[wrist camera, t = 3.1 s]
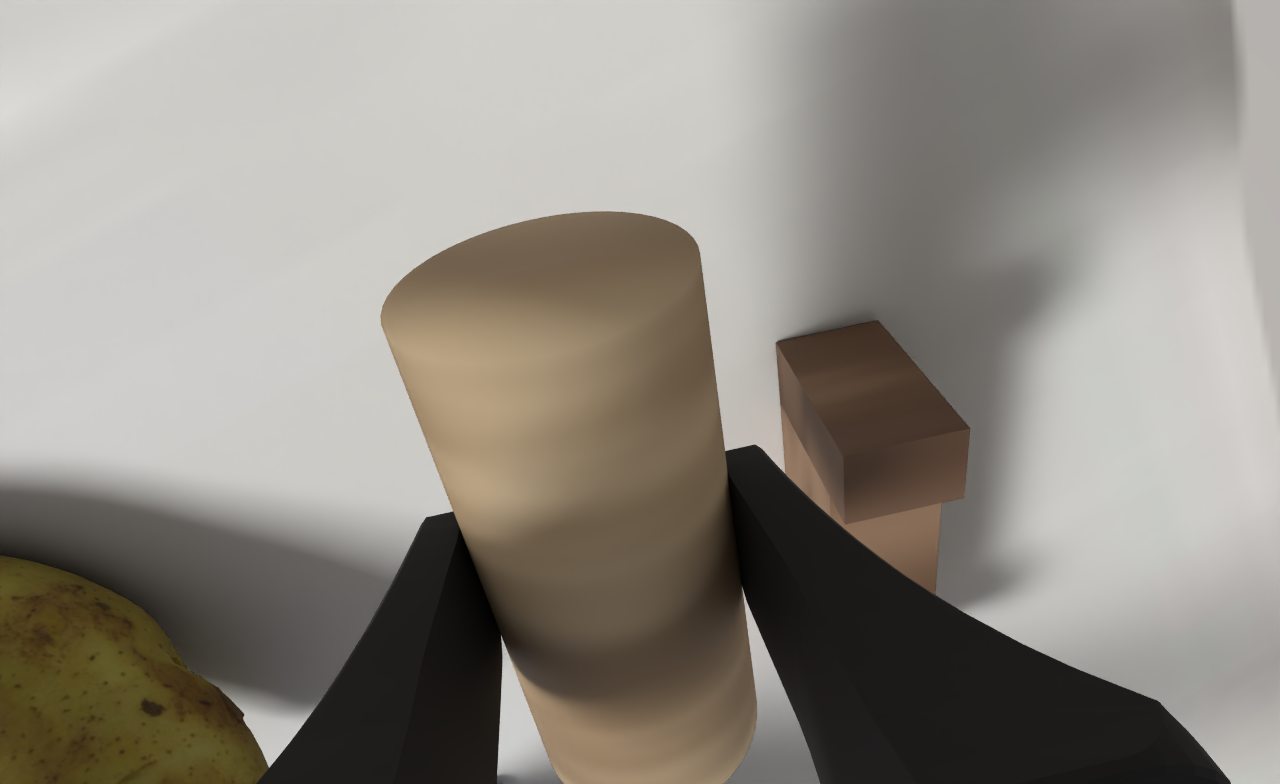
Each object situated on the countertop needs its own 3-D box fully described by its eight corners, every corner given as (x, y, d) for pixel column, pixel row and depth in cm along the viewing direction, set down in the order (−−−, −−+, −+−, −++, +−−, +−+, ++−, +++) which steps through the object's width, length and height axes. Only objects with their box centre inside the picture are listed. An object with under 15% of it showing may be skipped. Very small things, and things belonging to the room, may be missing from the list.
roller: (733, 607, 17) (781, 792, 13) (543, 643, 17) (544, 837, 13) (675, 191, 12) (729, 321, 8) (405, 243, 12) (351, 393, 8)
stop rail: (875, 637, 29) (939, 767, 24) (799, 654, 28) (850, 788, 24) (878, 320, 21) (970, 428, 17) (775, 342, 21) (843, 456, 17)
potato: (17, 419, 19) (-238, 707, 13) (356, 694, 26) (307, 973, 20) (-240, 563, 20) (-598, 898, 14) (150, 790, 27) (39, 1085, 21)
